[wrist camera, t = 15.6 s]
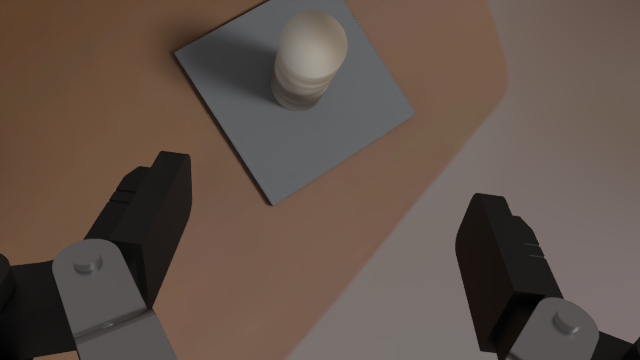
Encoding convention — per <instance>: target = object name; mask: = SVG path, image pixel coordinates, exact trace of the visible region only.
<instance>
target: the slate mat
mask: <svg viewBox="0 0 640 360" xmlns="http://www.w3.org/2000/svg"><path fill="white" fill-rule="evenodd" d="M307 10H316V11H321V12H324V13H326V14H328V15H330V16H332V17H333V18H334V19H336V20H337V21H338V22H339V23H340V25H341V26H342V28H343V29H344V31H345V34H346V37H347V42H348V49H347V54H346V57H345V59H344V61H343V63H342V64H341V66H340V68H339V69H338V71H337V72H336V74H335V76H334V77H333V79H332V80H331V82H330V84H329V85H328V87H327V89H326V90H325V92H324V93H323V95H322V97H321V98H320V100H319V101H318V103H317V104H316V105H315V106H313V107H312V108H310V109H308V110H305V111H292V110H289V109H286V108H284V107H283V106H281V105H280V104H279V103H278V102H277V101H276V99H275V98H274V96H273V93H272V90H271V78H272V74H273V69H274V64H275V59H276V55H277V50H278V45H279V40H280V36H281V32H282V29H283V27H284V25H285V24H286V22H287V21H288V20H289V19H290V18H291V17H292V16H294V15H295V14H297V13H300V12H303V11H307ZM174 54H175V56H176V58H177V59H178V61H179V62H180V64H181V65H182V67H183V68H184V70H185V71H186V73H187V75H188V76H189V78H190V79H191V81H192V82H193V84H194V85H195V87H196V88H197V90H198V92H199V93H200V95H201V96H202V98H203V99H204V101H205V102H206V104H207V105H208V107H209V109H210V110H211V112H212V113H213V115H214V116H215V118H216V119H217V121H218V122H219V124H220V126H221V127H222V129H223V130H224V132H225V133H226V135H227V136H228V138H229V140H230V141H231V143H232V144H233V146H234V147H235V149H236V150H237V152H238V153H239V155H240V157H241V158H242V160H243V161H244V163H245V164H246V166H247V167H248V169H249V170H250V172H251V174H252V175H253V177H254V178H255V180H256V181H257V183H258V184H259V186H260V187H261V189H262V191H263V192H264V194H265V195H266V197H267V198H268V200H269V201H270V203H271V204H272V206H274V205H276V204H277V203H279V202H280V201H282V200H284V199H285V198H287V197H288V196H290V195H291V194H293V193H294V192H296V191H297V190H299V189H301V188H302V187H304V186H305V185H307V184H308V183H310V182H311V181H313V180H315V179H316V178H318V177H319V176H321V175H322V174H324V173H325V172H327V171H328V170H330V169H332V168H333V167H335V166H336V165H338V164H339V163H341V162H342V161H344V160H346V159H347V158H349V157H350V156H352V155H353V154H355V153H356V152H358V151H360V150H361V149H363V148H364V147H366V146H367V145H369V144H370V143H372V142H373V141H375V140H377V139H378V138H380V137H381V136H383V135H384V134H386V133H387V132H389V131H391V130H392V129H394V128H395V127H397V126H398V125H400V124H401V123H403V122H404V121H406V120H408V119H409V118H411V117H412V116H414V115H415V114H416V112H415V111H414V109H413V108H412V106H411V104H410V103H409V101H408V100H407V98H406V97H405V95H404V94H403V92H402V91H401V89H400V87H399V86H398V84H397V83H396V81H395V80H394V78H393V77H392V75H391V73H390V72H389V70H388V69H387V67H386V66H385V64H384V63H383V61H382V59H381V58H380V56H379V55H378V53H377V52H376V50H375V49H374V47H373V45H372V44H371V42H370V41H369V39H368V38H367V36H366V35H365V33H364V32H363V30H362V28H361V27H360V25H359V24H358V22H357V21H356V19H355V18H354V16H353V14H352V13H351V11H350V10H349V8H348V7H347V5H346V4H345V2H344V0H269V1H268V2H266V3H264V4H262V5H260V6H258V7H257V8H255V9H253V10H251V11H249V12H247V13H246V14H244V15H242V16H240V17H238V18H236V19H235V20H233V21H231V22H229V23H227V24H225V25H224V26H222V27H220V28H218V29H216V30H214V31H212V32H211V33H209V34H207V35H205V36H203V37H201V38H200V39H198V40H196V41H194V42H192V43H190V44H189V45H187V46H185V47H183V48H181V49H179V50H178V51H176V52H174Z"/></svg>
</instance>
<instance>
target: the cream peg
mask: <svg viewBox="0 0 640 360" xmlns="http://www.w3.org/2000/svg"><path fill="white" fill-rule="evenodd" d="M347 49H348V42H347V37H346V34H345V31H344V29H343V28H342V26H341V25H340V23H339V22H338V21H337V20H336V19H334V18H333V17H332V16H330V15H328V14H326V13H324V12H321V11H316V10H307V11H303V12H300V13H297V14H295V15H294V16H292V17H291V18H290V19H289V20H288V21H287V22H286V24H285V25H284V27H283V29H282V32H281V36H280V40H279V45H278V50H277V55H276V59H275V64H274V69H273V74H272V78H271V90H272V93H273V96H274V98H275V99H276V101H277V102H278V103H279V104H280V105H281V106H283V107H284V108H286V109H289V110H292V111H305V110H308V109H310V108H312V107H313V106H315V105H316V104H317V103H318V101H319V100H320V98H321V97H322V95H323V93H324V92H325V90H326V89H327V87H328V85H329V84H330V82H331V80H332V79H333V77H334V76H335V74H336V72H337V71H338V69H339V68H340V66H341V64H342V63H343V61H344V59H345V57H346V54H347Z"/></svg>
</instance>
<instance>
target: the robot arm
mask: <svg viewBox="0 0 640 360" xmlns="http://www.w3.org/2000/svg"><path fill="white" fill-rule="evenodd" d="M191 206H192V181H191V159H190V156H189V154H182V153H174V152H167V151H161V152H160V153H159V154H158V156H157V158H156V159H155V161H154V163H153V165H152V166H151V168H150V167H142V166H139V167H137V168H136V169H134V170H133V171H131V172H130V173H129V174H127V175H126V176H124V178H123V179H122V181H121V182H120V184H119V185H118V187H117V189H116V192H114V193H113V195H112V196H111V198H110V199H109V202H107V204H106V206H105V207H104V209H103V210H102V212H101V213H100V215H99V216H98V218H97V219H96V221H95V223H94V224H93V226H92V227H91V229H90V230H89V232H88V233H87V235H86V236H85V238H84V240H82V241H78V242H76V243H73V244H71V245H69V246H67V247H66V248H64V249H63V250H62V251H61V252H60V253H59V254H58V255H57V256H56V258H55V259H54V260H51V261H47V262H41V263H32V264H24V265H15V266H10V264H9V261H8V259H7V258H6V257H5V256H4V255H2V254H0V360H33V358H34V357H39V356H45V355H51V354H57V353H63V352H69V351H75V350H76V351H77V354H78V358H79V360H178V359H177V357H176V355H175V352H174V350H173V348H172V346H171V344H170V342H169V340H168V338H167V336H166V334H165V332H164V329H163V327H162V325H161V323H160V321H159V319H158V317H157V315H156V313H155V311H154V310H153V309H152V307H153V304H154V302H155V300H156V297H157V295H158V292H159V290H160V287H161V285H162V283H163V280H164V278H165V275H166V273H167V270H168V268H169V266H170V263H171V261H172V258H173V256H174V253H175V251H176V249H177V246H178V244H179V241H180V239H181V236H182V234H183V232H184V229H185V227H186V224H187V222H188V219H189V216H190V212H191ZM455 250H456V256H457V260H458V264H459V268H460V272H461V276H462V280H463V284H464V288H465V292H466V296H467V300H468V304H469V308H470V312H471V316H472V320H473V324H474V328H475V332H476V336H477V340H478V344H479V348H480V351H484V352H492V353H497V356H498V360H640V337H639V338H638V340H637V341H636V342H635V343H634V344H632V343H629V342H626V341H624V340H621V339H619V338H616V337H613V336H611V335H608V334H605V333H603V332H600V331H598V328H597V325H596V323H595V322H594V320H593V319H592V318H591V317H590V315H588V314H587V313H586V312H585V311H584V310H583V309H581V308H580V307H579V306H577V305H576V304H574V303H572V302H570V301H567V300H564V298H563V296H562V293H561V292H560V289H559V287H558V285H557V283H556V280H555V278H554V276H553V274H552V272H551V269H550V267H549V265H548V263H547V261H546V259H544V254H543V252H542V250H541V248H540V247H539V243H538V241H537V239H536V236H535V234H534V232H533V230H532V229H531V228H530V227H529V226H528V225H527V224H526V223H525V222H524V221H523V220H522V219H521V217H519V216H512V214H511V211H510V209H509V207H508V204H507V202H506V200H505V198H504V197H503V196H496V195H488V194H481V193H476V194H474V195H473V197H472V199H471V201H470V204H469V206H468V208H467V211H466V213H465V216H464V218H463V220H462V223H461V225H460V228H459V230H458V233H457V237H456V243H455Z"/></svg>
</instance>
